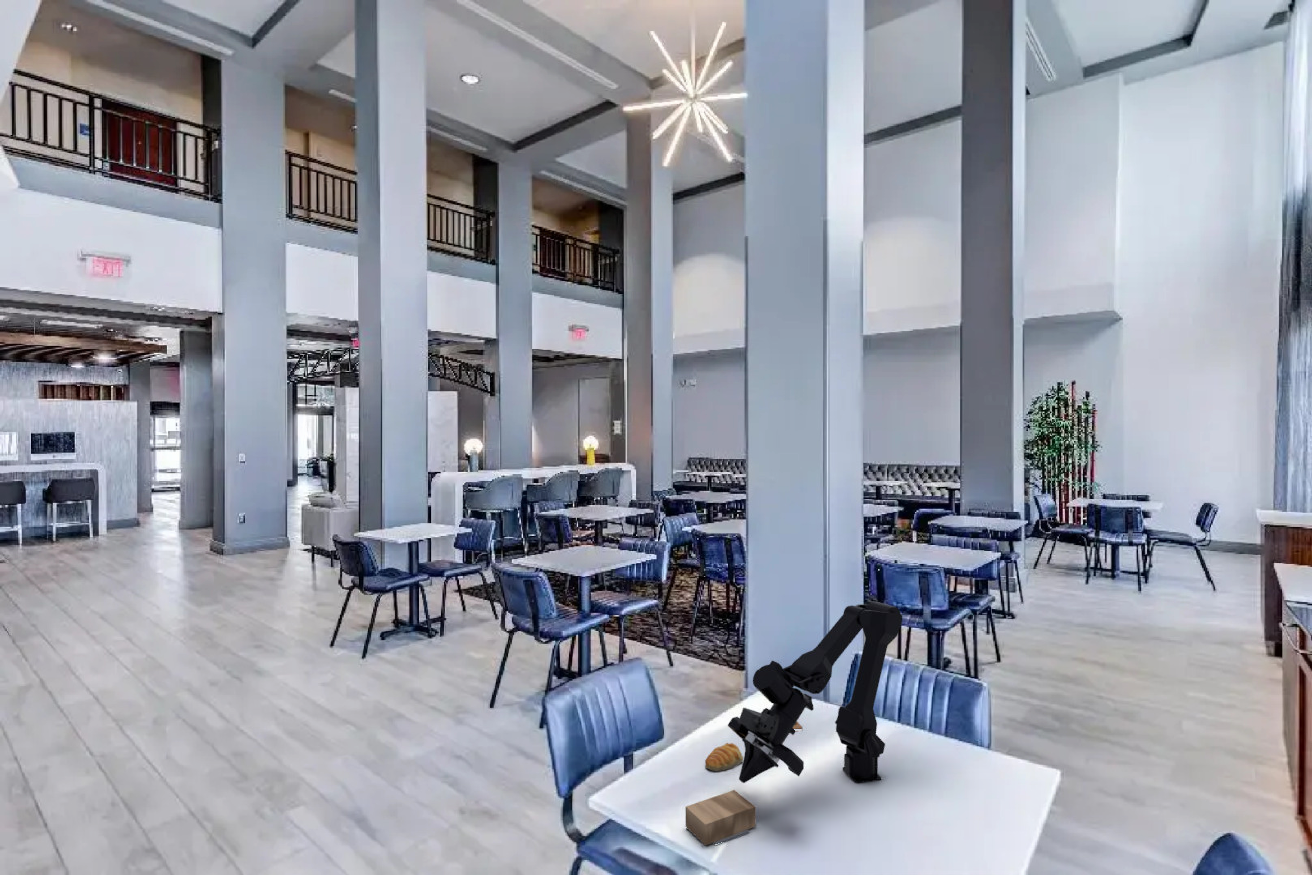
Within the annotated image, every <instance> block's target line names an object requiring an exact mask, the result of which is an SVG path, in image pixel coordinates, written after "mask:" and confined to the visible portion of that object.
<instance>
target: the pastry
mask: <svg viewBox="0 0 1312 875" xmlns="http://www.w3.org/2000/svg"><path fill="white" fill-rule="evenodd" d="M742 754H743V753H742V752H741V750H740V748H739V746H737V745H736V744H735V743H733V742H731V743H729V742H726V743H725V744H723V745H721V746H717V747H715V748H714V749H712V751H711V752H710V753H709V755H708V756H707V757H706V759H705V760H704V761H705V766H704V767H705V768H706V769H708V770H709V771H714V772H720V771H727V770H731V769H733V768H735V767H737V766H740V764H742V763H743V760H744V757H743V755H742Z"/></svg>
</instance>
